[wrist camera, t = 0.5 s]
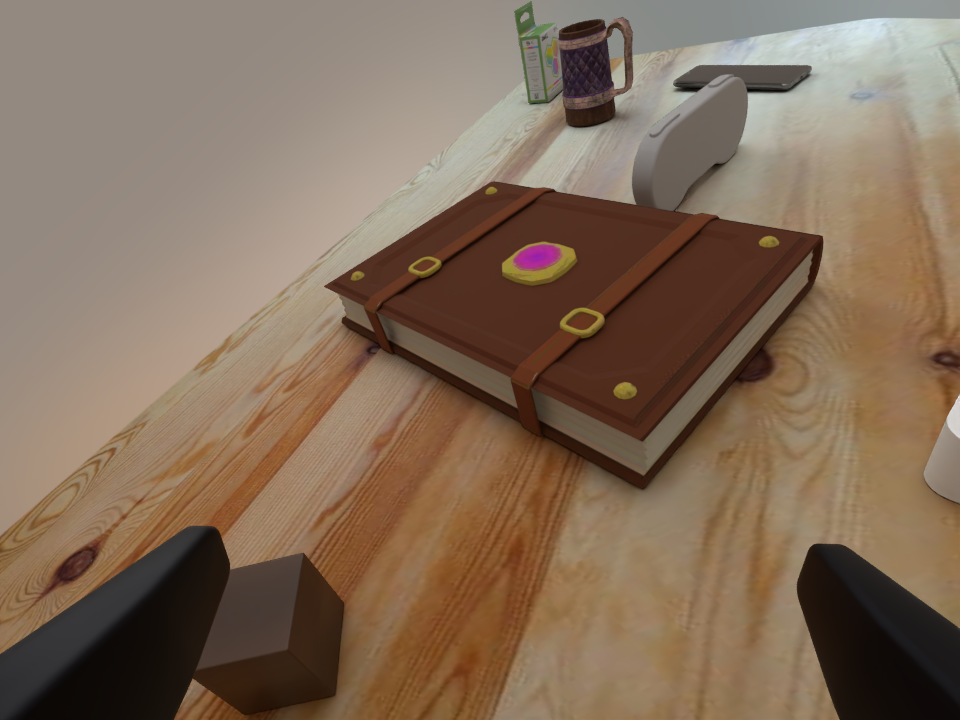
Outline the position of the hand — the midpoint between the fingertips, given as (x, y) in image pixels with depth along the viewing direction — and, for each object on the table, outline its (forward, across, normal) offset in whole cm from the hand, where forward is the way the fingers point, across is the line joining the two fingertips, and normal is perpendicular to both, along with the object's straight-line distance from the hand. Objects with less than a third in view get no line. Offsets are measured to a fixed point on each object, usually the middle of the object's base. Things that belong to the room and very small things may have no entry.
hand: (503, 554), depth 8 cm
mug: (+79, -12, 0) cm, 80 cm away
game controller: (+53, -18, +4) cm, 56 cm away
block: (+10, +11, +19) cm, 24 cm away
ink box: (+96, -5, -2) cm, 96 cm away
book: (+36, -3, +11) cm, 38 cm away
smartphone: (+80, -30, -4) cm, 86 cm away
